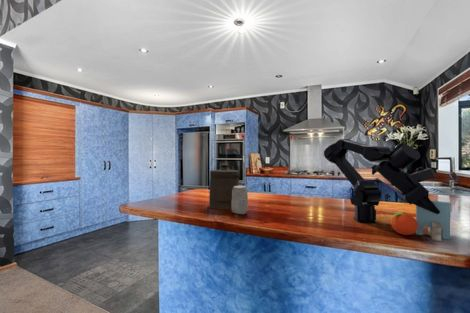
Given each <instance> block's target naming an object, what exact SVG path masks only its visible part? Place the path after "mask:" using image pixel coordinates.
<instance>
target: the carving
mask: <svg viewBox="0 0 470 313" xmlns="http://www.w3.org/2000/svg"><path fill="white" fill-rule="evenodd" d="M248 205H249V197H248V187H247V186H245V185H239V186H234V187H233V189H232V201H231V208H232V209H231V212H232V213H234V214H237V215H245V214H247V211H248Z"/></svg>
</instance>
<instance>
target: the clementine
mask: <svg viewBox="0 0 470 313" xmlns="http://www.w3.org/2000/svg"><path fill="white" fill-rule="evenodd" d="M390 221H391V222H390V224H391V227H392V229H393V230H394V231H395V232H396V233H398V234H400V235H403V236H412V235H413V234H416V231H417V228H418V224H417V221H416V217H414V216H412V215H411V214H409V213H406V212H398V213H397V212H396V213H395V214H393V215H392V216H391V217H390Z"/></svg>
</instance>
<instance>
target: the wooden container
mask: <svg viewBox="0 0 470 313" xmlns="http://www.w3.org/2000/svg"><path fill="white" fill-rule="evenodd" d="M220 166H221V167H220V168H219V169H211V170H210V172H209V190H208V191H209V194H208V195H209V196H208V197H209V202H208V203H209V205H208V206H209V207H210V208H211V209H214V210H232V208H231V201H232V189H233V187H234V186H240V185H239V184H240V182H239V181H240V180H239V179H240V178H239V177H240V170H239V169H238V170H236V169H230V168H229V167H228V166H229V164H228V163H227V162H222V163H221V165H220Z"/></svg>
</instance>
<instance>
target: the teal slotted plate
mask: <svg viewBox="0 0 470 313" xmlns="http://www.w3.org/2000/svg"><path fill="white" fill-rule="evenodd" d="M431 201H432V203H433V204H434V205H435V206H436V207H437V209H438V210H439V211H440V213H439V214H435V213H433V212H431V211H428V210H426V209H424V208H421V207H419V206H417V205H415V219H416V221H417V224H418V228H417V231H416V232H415V234H416V235H420V236H424V228H428V227H430V228H431V221H432V222H440V223H441V239H443V240H444V239H445V240H451V202H449V201H441V200H440V201H439V200H431Z"/></svg>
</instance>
